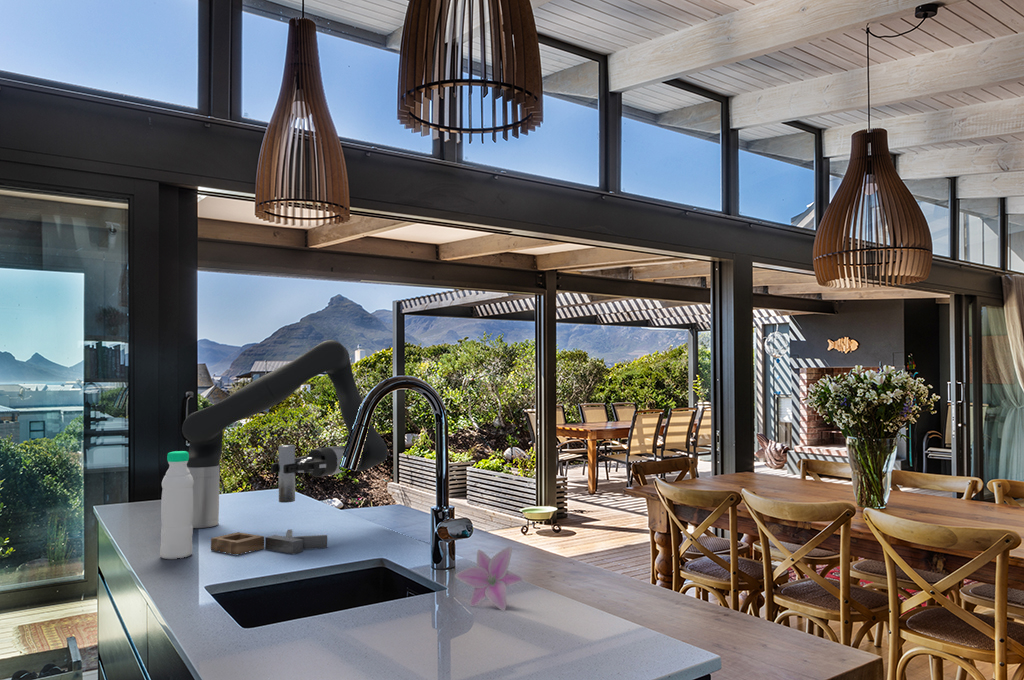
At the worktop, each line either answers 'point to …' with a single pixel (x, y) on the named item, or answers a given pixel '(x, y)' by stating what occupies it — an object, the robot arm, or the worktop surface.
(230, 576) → the worktop surface
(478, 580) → the lily
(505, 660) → the worktop surface
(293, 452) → the gray rectangular bar
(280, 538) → the v block
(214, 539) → the brown wooden open box
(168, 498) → the water bottle
